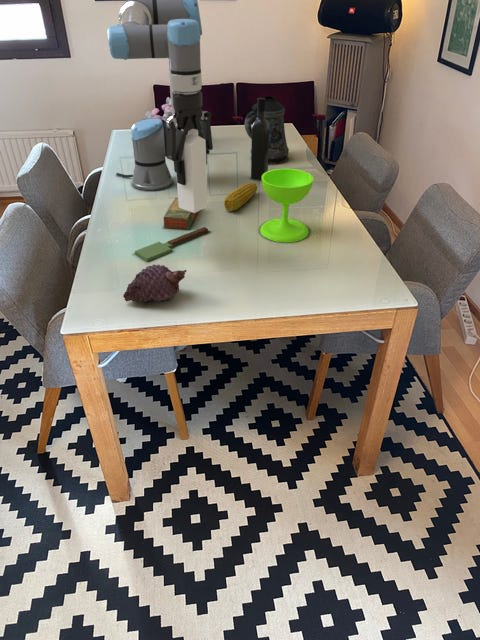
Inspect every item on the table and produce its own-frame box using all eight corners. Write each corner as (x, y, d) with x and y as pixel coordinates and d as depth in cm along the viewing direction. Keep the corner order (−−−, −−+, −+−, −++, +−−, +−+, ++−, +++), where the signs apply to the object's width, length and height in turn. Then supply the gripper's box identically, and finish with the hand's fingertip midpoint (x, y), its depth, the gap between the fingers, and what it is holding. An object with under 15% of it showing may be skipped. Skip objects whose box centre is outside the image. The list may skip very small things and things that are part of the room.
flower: (157, 132, 249) (140, 87, 228) (202, 129, 246) (189, 83, 224) (150, 162, 240) (132, 119, 218) (197, 160, 236) (183, 116, 214)
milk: (192, 201, 150) (187, 123, 137) (208, 206, 147) (205, 127, 134) (178, 208, 146) (172, 128, 133) (194, 213, 143) (190, 132, 130)
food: (236, 215, 178) (236, 198, 174) (221, 212, 180) (221, 196, 176) (260, 193, 193) (260, 177, 190) (246, 190, 195) (246, 175, 192)
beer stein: (294, 156, 227) (298, 96, 212) (273, 169, 213) (275, 106, 199) (262, 149, 234) (264, 90, 219) (239, 162, 221) (239, 100, 206)
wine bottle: (250, 179, 205) (251, 99, 187) (255, 174, 209) (256, 95, 191) (263, 181, 203) (265, 100, 185) (268, 176, 207) (271, 97, 190)
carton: (199, 209, 181) (198, 198, 179) (188, 230, 169) (187, 218, 166) (176, 208, 182) (175, 196, 180) (163, 228, 170) (162, 216, 167)
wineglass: (275, 246, 160) (278, 191, 149) (251, 226, 171) (252, 173, 160) (318, 235, 166) (323, 181, 155) (292, 216, 177) (295, 165, 166)
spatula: (147, 261, 152) (146, 257, 151) (135, 253, 156) (134, 249, 155) (212, 234, 166) (212, 230, 165) (200, 228, 170) (200, 224, 169)
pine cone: (130, 316, 130) (113, 280, 128) (132, 312, 139) (117, 278, 138) (195, 289, 131) (179, 253, 129) (192, 287, 141) (178, 253, 139)
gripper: (164, 100, 121) (171, 193, 134) (225, 87, 132) (227, 175, 145) (145, 94, 125) (154, 185, 139) (206, 82, 136) (209, 168, 150)
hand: (191, 180), depth 142 cm, fingers closed on milk, 7 cm apart
